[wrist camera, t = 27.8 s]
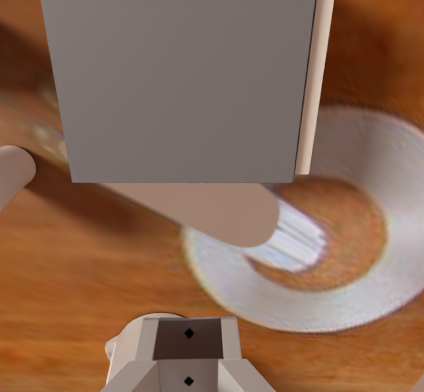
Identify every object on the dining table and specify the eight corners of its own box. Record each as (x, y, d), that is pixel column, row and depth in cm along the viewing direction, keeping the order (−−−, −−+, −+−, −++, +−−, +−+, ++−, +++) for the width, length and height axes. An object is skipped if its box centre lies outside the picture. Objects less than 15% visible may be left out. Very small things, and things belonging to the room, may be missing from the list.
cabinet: (261, 134, 42) (292, 182, 28) (116, 133, 41) (72, 182, 27) (274, -38, 35) (326, -93, 20) (97, -42, 34) (22, -102, 20)
